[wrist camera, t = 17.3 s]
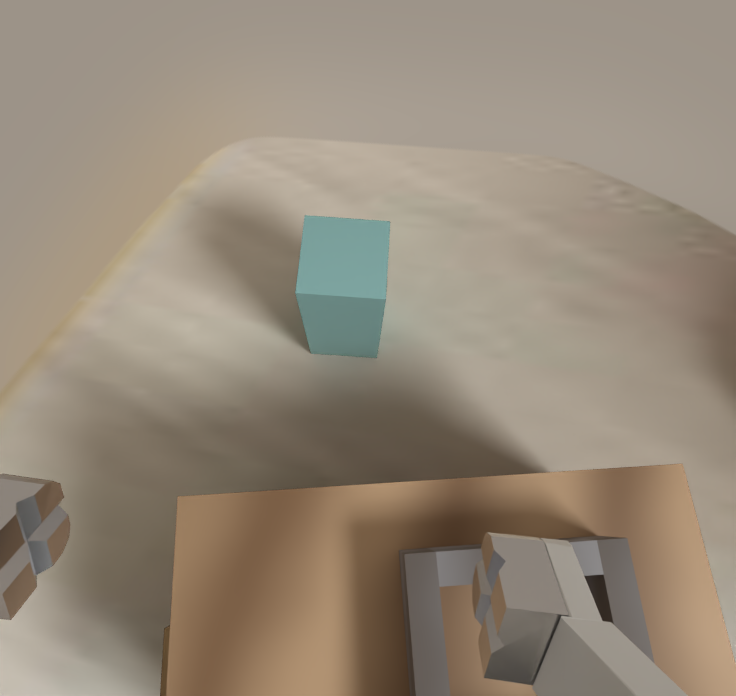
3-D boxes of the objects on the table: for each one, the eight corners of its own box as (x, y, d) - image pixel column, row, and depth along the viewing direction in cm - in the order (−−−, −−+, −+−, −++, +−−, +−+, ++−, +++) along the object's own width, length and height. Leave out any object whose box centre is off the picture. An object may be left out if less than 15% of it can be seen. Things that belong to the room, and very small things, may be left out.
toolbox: (574, 480, 28) (720, 458, 17) (622, 730, 24) (852, 914, 13) (225, 503, 27) (137, 495, 16) (218, 768, 23) (95, 1000, 12)
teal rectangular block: (380, 297, 31) (390, 221, 23) (376, 357, 30) (385, 299, 22) (317, 293, 31) (304, 215, 23) (310, 353, 30) (295, 292, 22)
